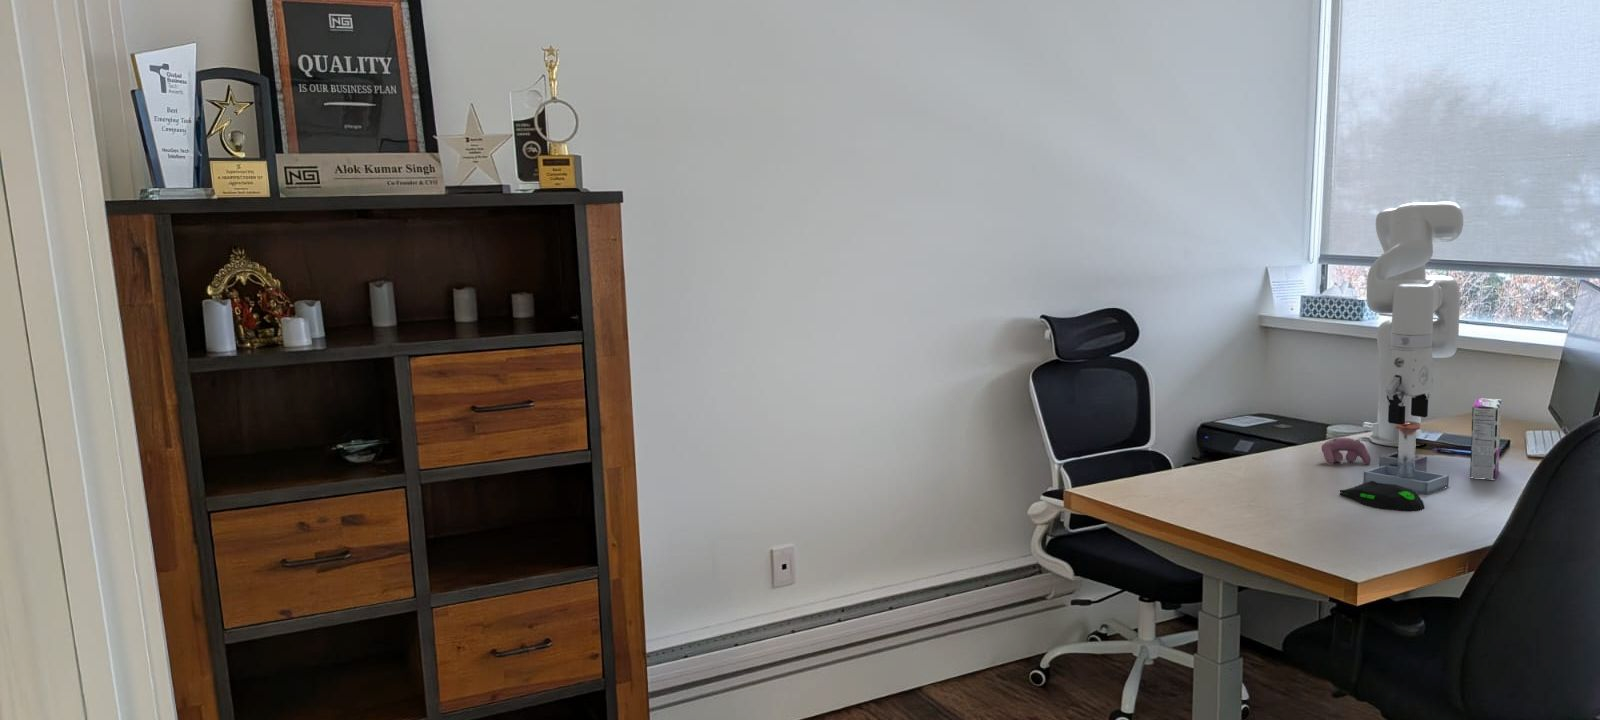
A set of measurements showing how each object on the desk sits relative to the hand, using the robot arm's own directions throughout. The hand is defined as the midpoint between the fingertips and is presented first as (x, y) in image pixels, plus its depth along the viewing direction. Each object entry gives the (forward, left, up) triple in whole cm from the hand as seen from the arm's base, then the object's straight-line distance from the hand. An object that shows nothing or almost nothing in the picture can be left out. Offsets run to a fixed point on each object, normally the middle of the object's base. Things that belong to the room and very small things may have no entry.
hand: (1407, 419), depth 222 cm
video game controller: (-18, +10, -15) cm, 25 cm away
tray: (0, -1, -14) cm, 14 cm away
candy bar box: (+7, +21, -15) cm, 26 cm away
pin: (0, 0, -14) cm, 14 cm away
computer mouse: (+3, -17, -15) cm, 23 cm away
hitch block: (-5, +8, -14) cm, 17 cm away
